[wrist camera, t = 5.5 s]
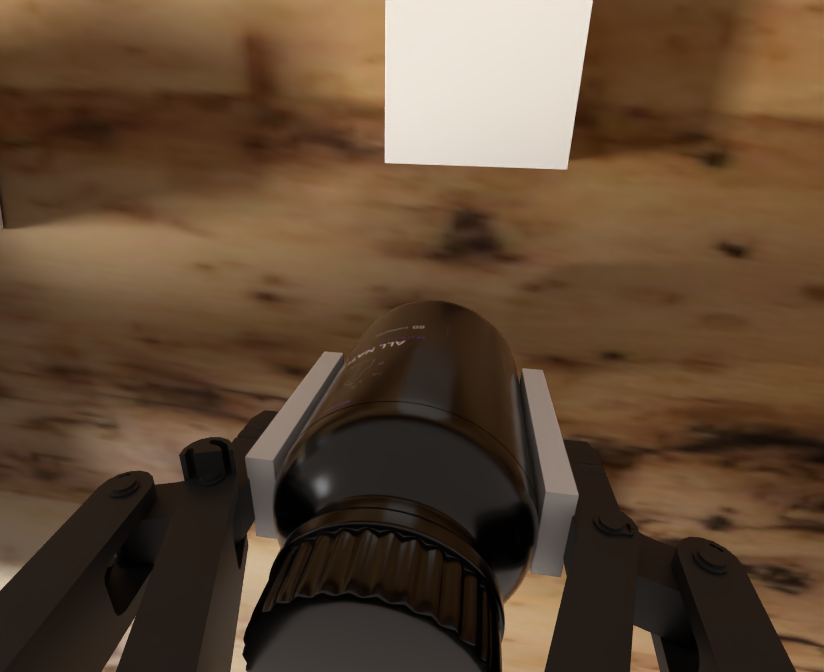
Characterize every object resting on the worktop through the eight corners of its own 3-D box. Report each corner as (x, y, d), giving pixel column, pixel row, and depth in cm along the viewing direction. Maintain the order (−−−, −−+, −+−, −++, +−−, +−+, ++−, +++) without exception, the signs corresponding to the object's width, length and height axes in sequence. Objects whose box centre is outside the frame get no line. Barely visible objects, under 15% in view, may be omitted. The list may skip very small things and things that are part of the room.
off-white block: (544, 162, 20) (567, 169, 15) (411, 158, 21) (384, 162, 15) (567, -1, 18) (603, -67, 12) (415, 1, 18) (385, -61, 13)
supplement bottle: (383, 268, 17) (224, 475, 6) (545, 334, 18) (659, 644, 7) (333, 407, 20) (165, 716, 9) (474, 462, 20) (472, 830, 9)
